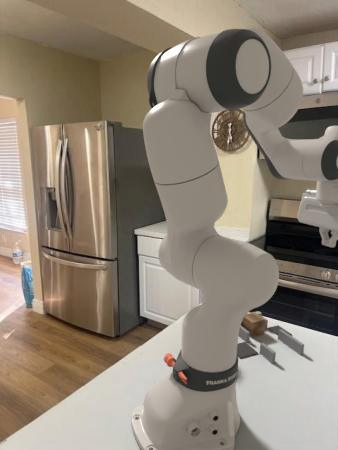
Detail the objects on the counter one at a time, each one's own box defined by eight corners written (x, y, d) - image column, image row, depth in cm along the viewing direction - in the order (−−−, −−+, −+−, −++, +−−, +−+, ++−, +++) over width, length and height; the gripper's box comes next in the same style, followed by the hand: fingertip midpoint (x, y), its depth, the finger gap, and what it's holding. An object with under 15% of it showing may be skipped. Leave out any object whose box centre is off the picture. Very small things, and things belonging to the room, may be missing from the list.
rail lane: (271, 363, 89) (273, 349, 88) (229, 328, 106) (230, 317, 105) (303, 354, 93) (304, 341, 92) (257, 322, 111) (258, 311, 110)
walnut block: (250, 337, 101) (252, 322, 100) (241, 329, 106) (242, 315, 105) (264, 334, 103) (265, 319, 102) (253, 326, 108) (255, 312, 107)
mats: (240, 358, 91) (240, 357, 91) (220, 340, 100) (220, 339, 100) (301, 341, 100) (301, 340, 100) (278, 326, 108) (278, 325, 108)
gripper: (294, 189, 93) (290, 237, 95) (363, 198, 74) (354, 258, 77) (311, 188, 95) (306, 235, 98) (382, 197, 77) (373, 255, 80)
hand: (328, 246), depth 87 cm, fingers closed
